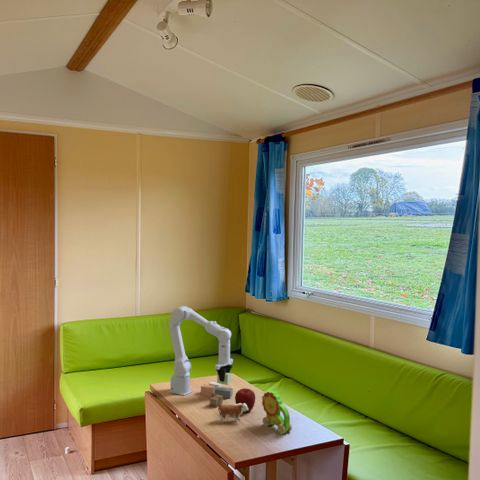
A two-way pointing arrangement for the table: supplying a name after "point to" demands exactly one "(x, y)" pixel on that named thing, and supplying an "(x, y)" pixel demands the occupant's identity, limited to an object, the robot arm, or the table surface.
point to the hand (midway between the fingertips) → (223, 380)
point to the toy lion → (275, 412)
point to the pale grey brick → (215, 385)
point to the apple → (245, 398)
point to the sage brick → (226, 380)
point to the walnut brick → (216, 401)
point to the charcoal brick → (224, 392)
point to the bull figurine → (232, 410)
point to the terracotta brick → (207, 389)
